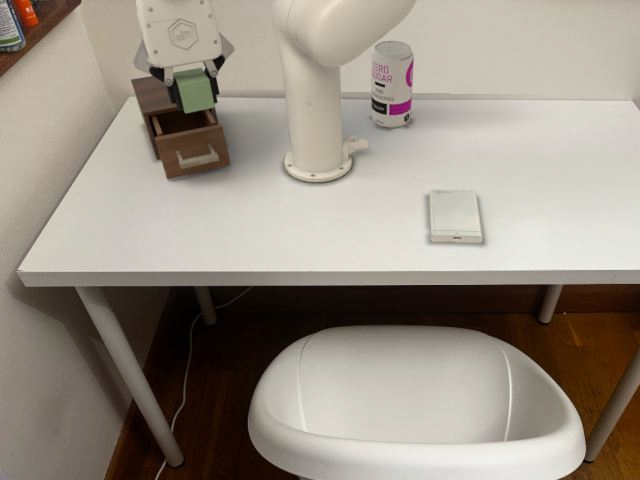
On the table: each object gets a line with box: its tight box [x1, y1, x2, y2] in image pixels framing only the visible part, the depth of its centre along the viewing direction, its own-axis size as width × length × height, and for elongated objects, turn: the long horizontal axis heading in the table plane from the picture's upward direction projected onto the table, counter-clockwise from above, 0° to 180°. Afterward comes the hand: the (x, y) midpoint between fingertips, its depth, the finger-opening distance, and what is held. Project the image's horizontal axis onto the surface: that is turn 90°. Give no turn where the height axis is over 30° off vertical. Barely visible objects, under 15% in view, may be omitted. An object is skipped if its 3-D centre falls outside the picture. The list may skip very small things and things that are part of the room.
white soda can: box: [370, 40, 415, 129], centre depth 114 cm, size 8×8×15 cm
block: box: [173, 67, 216, 113], centre depth 85 cm, size 4×4×4 cm
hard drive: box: [428, 189, 484, 244], centre depth 94 cm, size 2×8×12 cm
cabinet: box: [130, 70, 220, 161], centre depth 110 cm, size 15×13×10 cm
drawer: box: [151, 109, 231, 180], centre depth 102 cm, size 18×11×8 cm, turn 25°
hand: (196, 101), depth 87 cm, fingers closed on block, 4 cm apart
